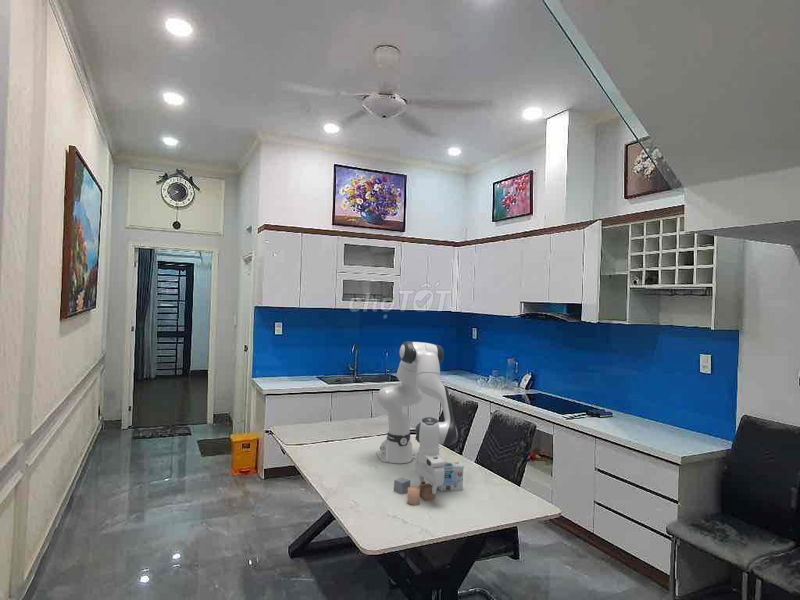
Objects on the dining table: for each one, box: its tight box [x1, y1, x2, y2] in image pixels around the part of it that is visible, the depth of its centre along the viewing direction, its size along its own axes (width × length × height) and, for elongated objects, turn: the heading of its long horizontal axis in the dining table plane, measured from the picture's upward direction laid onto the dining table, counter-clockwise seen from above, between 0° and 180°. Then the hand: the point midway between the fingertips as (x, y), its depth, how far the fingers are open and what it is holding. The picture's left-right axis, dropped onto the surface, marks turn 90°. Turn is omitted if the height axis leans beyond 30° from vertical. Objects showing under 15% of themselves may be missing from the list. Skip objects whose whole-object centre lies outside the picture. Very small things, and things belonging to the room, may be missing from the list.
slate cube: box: [393, 476, 411, 495], centre depth 223 cm, size 5×5×5 cm
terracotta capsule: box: [406, 485, 420, 506], centre depth 210 cm, size 5×5×6 cm
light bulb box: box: [437, 461, 464, 492], centre depth 228 cm, size 11×7×11 cm, turn 101°
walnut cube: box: [418, 482, 436, 501], centre depth 217 cm, size 5×5×5 cm
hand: (428, 489), depth 216 cm, fingers open, 8 cm apart
